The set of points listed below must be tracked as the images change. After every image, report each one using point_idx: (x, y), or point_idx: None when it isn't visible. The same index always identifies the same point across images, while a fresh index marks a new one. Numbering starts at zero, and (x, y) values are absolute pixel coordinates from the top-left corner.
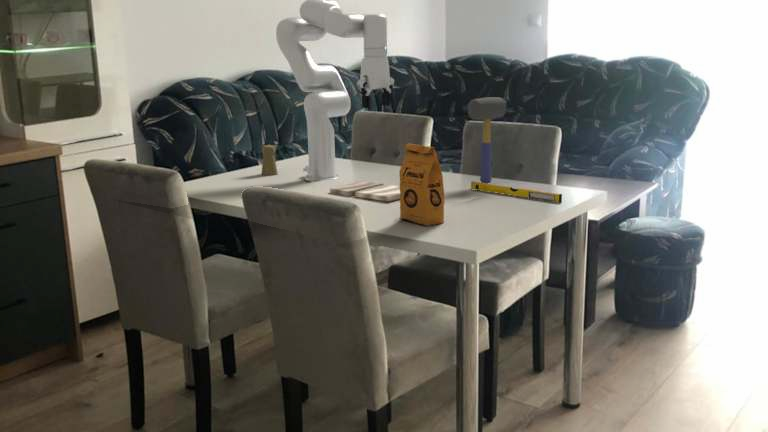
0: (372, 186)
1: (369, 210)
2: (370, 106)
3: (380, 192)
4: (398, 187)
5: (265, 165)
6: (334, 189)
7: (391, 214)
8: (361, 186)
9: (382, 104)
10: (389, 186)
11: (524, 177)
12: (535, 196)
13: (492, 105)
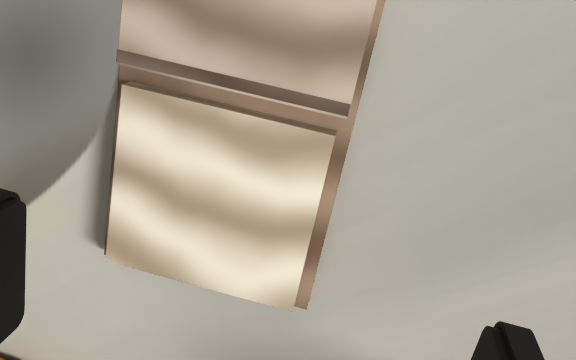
0: (266, 97)
1: (29, 212)
2: (8, 332)
3: (161, 196)
4: (291, 221)
5: None
6: None
7: (28, 298)
8: (247, 41)
9: (483, 340)
10: (297, 174)
11: None
12: None
13: None
